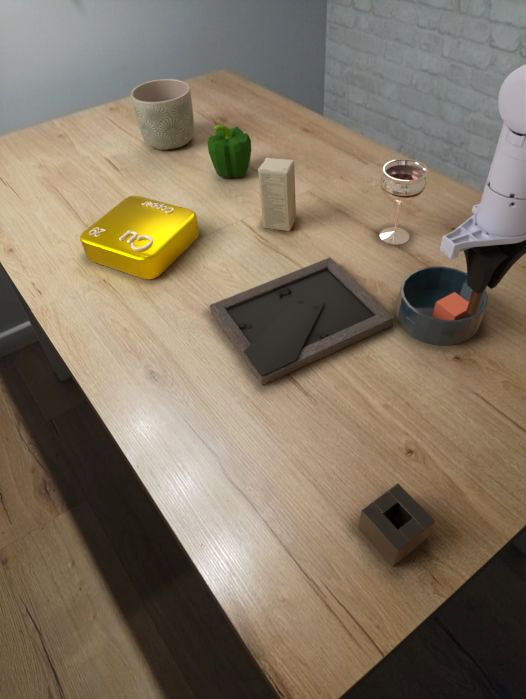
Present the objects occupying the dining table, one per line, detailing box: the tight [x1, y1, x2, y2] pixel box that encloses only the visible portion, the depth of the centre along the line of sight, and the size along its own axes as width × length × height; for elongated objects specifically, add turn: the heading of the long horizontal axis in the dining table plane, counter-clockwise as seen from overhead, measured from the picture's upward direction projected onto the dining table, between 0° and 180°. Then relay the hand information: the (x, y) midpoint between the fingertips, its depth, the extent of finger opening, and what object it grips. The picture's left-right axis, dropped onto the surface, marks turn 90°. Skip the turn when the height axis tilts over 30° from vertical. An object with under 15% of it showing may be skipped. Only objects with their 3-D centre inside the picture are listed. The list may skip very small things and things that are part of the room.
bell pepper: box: [206, 124, 252, 179], centre depth 100 cm, size 8×8×10 cm
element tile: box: [79, 195, 200, 280], centre depth 87 cm, size 15×15×5 cm
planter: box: [130, 78, 195, 151], centre depth 111 cm, size 12×12×11 cm
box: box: [257, 157, 297, 232], centre depth 87 cm, size 5×4×11 cm
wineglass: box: [379, 158, 429, 246], centre depth 83 cm, size 7×7×12 cm
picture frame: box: [209, 257, 395, 386], centre depth 74 cm, size 16×2×21 cm
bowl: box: [395, 265, 489, 346], centre depth 72 cm, size 11×11×4 cm
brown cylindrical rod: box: [466, 247, 500, 315], centre depth 62 cm, size 1×1×10 cm
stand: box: [357, 482, 436, 568], centre depth 51 cm, size 5×5×4 cm
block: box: [432, 292, 471, 320], centre depth 71 cm, size 4×4×4 cm
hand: (481, 285), depth 63 cm, fingers closed on brown cylindrical rod, 1 cm apart
